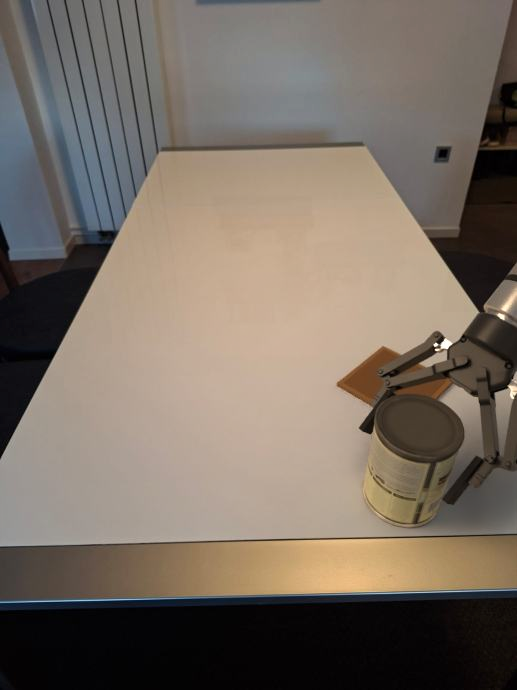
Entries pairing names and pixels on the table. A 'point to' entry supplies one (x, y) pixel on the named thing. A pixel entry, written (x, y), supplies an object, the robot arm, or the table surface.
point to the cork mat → (368, 383)
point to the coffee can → (411, 458)
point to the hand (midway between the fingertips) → (402, 464)
